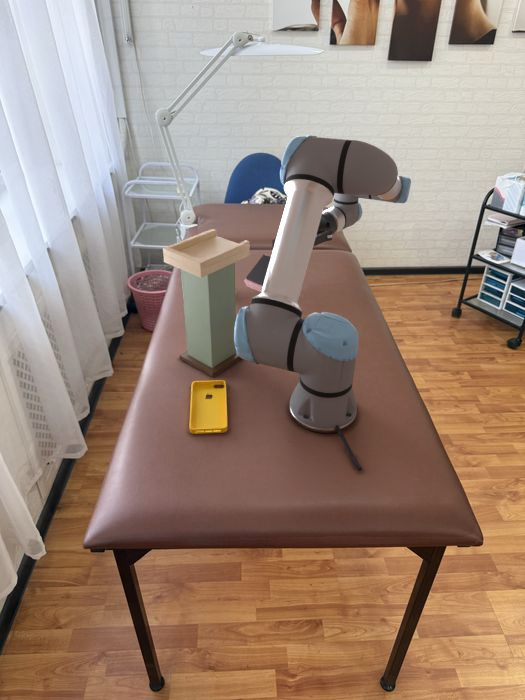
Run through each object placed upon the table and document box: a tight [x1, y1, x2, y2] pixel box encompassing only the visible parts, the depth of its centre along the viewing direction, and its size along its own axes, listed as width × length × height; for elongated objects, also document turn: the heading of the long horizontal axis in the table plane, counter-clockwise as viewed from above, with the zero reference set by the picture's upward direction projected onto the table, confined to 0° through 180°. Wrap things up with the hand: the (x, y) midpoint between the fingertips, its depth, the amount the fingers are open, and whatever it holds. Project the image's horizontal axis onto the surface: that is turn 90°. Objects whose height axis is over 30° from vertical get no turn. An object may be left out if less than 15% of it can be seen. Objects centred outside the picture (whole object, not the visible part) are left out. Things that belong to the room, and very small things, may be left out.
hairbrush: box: [243, 253, 271, 293], centre depth 139 cm, size 22×7×4 cm, turn 140°
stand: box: [162, 228, 251, 378], centre depth 124 cm, size 16×12×32 cm
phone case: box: [188, 379, 229, 435], centre depth 116 cm, size 8×17×1 cm, turn 5°
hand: (278, 246), depth 138 cm, fingers closed on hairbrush, 3 cm apart
